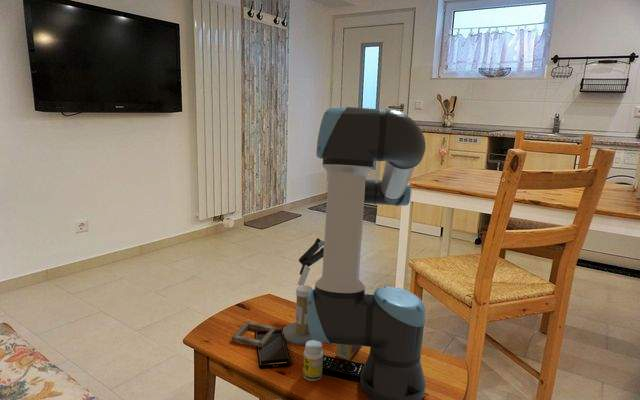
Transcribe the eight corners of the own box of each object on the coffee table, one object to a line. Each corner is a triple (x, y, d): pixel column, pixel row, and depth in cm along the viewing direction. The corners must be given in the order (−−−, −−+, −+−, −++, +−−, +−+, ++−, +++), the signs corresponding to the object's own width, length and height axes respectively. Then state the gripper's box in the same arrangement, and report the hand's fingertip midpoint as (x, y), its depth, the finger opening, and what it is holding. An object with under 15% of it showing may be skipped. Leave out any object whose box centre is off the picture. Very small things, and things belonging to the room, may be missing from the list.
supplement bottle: (300, 371, 104) (301, 340, 102) (318, 368, 105) (320, 337, 103) (305, 383, 99) (307, 350, 97) (324, 380, 101) (326, 348, 99)
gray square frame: (276, 331, 122) (276, 327, 121) (262, 348, 113) (262, 343, 112) (247, 325, 124) (247, 321, 124) (231, 341, 115) (231, 336, 115)
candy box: (350, 361, 109) (353, 307, 106) (335, 356, 111) (338, 302, 108) (363, 345, 116) (367, 294, 113) (349, 341, 118) (352, 290, 115)
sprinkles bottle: (311, 335, 118) (313, 291, 116) (295, 336, 118) (297, 291, 115) (309, 327, 123) (311, 284, 120) (294, 327, 122) (295, 284, 119)
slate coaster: (325, 329, 124) (325, 326, 124) (313, 348, 114) (313, 344, 114) (291, 322, 127) (291, 319, 127) (276, 340, 117) (276, 336, 117)
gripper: (380, 242, 134) (360, 304, 125) (311, 230, 145) (289, 286, 136) (375, 230, 128) (354, 294, 119) (304, 219, 139) (280, 277, 130)
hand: (319, 290), depth 127 cm, fingers open, 13 cm apart
